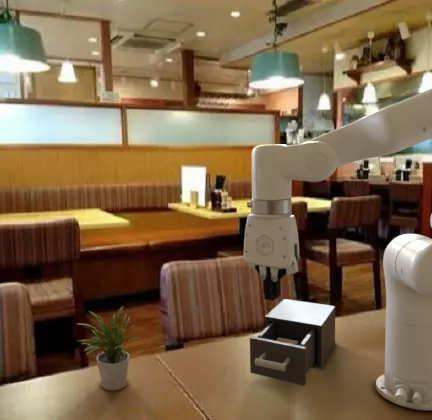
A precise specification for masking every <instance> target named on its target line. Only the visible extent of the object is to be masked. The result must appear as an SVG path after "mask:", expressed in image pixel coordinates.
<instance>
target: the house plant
mask: <svg viewBox="0 0 432 420" xmlns="http://www.w3.org/2000/svg"><path fill="white" fill-rule="evenodd" d="M123 309H124V305H122V306H121V307H120V308H119V309H118V311H117V312H114V313H113V315H112V318H111V321H110V328H109V327H108V325H107V323H106V321H105V319H104V317H102V316H99V315H98V314H96V313H95V312H93V311H90V310H88V312H89V313H90V314H92V315H93V316H94V317H95V319H96V321H97V323H98V325H99V328H100V329H101V330H102V332H103V333H102V332H101V331H99V330H98V328H97V327H94V326H93V325H92V324H88V323H77V325H83V326H86V327H87V328H88V329H91V332H93V334H94V335H95V336H92V337H91V338H88V339H85V338H84V339H78V340H76V341H77V342H80V343H81V345H88V346H87V347H86V348H85V349H84V350H83V351H82V352H83V353H84V352H85V351H87V352H86V354H85V356H87V355H89V354H91V353H93V352H94V351H98V352H99V354H98V355H96V363H97V368H98V372H99V376H100V382H101V386H102V388H103V389H105V390H107V391H118V390H121V389H123V388H125V387H126V386H127V381H128V371H129V363H130V362H129V361H130V353H129V352H127V351H126V350H123V349H124V347H125V346H126V345H127V344H128V343H129V342H130V341H132V340H135V339H141V340H142V338H141V337H139V336H136V337H135V336H134V337H132V338H130V339H128V340H127V341H126V342H125V343H124V344H123V342H124V341H125V337H126V336H127V334H129V332H130V331H131V330H132V328H133V327H134V326H135V325H136V323H135V324H133V325H132V326H130V327H129V329H128V330H127V327H128V325H129V322H130V319H131V316H128V319H127V311H125V314H124V316H123V318H122V314H123V312H124V310H123ZM121 318H122V321H121ZM126 319H127V320H126ZM120 321H121V325H120ZM119 326H120V327H119ZM92 328H93V329H92ZM126 330H127V331H126ZM125 331H126V332H125ZM122 344H123V345H122Z"/></svg>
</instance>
